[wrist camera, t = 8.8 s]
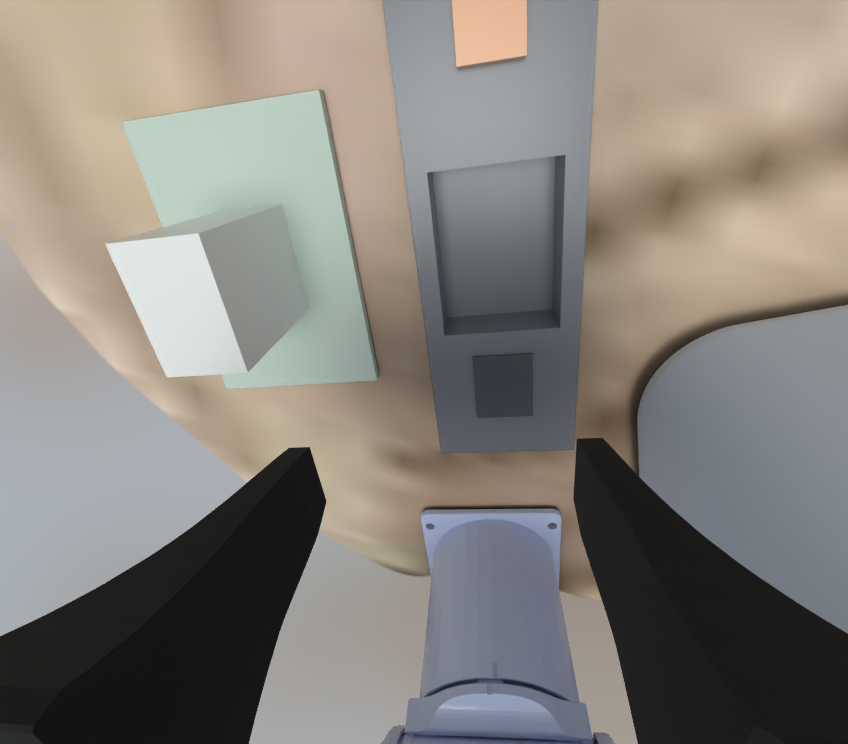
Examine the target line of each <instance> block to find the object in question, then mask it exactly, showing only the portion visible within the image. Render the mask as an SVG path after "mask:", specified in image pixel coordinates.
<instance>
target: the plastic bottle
mask: <svg viewBox="0 0 848 744" xmlns="http://www.w3.org/2000/svg"><path fill="white" fill-rule="evenodd" d="M637 428H638V453H639V477H640V478H641V479H642V480H643V481H644V482H645V483H646V484H647V485H648V486H649V487H650V488H651V489H652V490H653V491H654V492H655V493H656V494H657V495H658V496H659V497H660V498H662V499H663V500H664V501H665V502H666V503H667V504H668V505H669V506H670V507H671V508H672V509H673V510H674V511H676V512H677V513H678V514H679V515H680V516H681V517H682V518H684V519H685V520H686V521H687V522H688V523H689V524H690V525H692V526H693V527H694V528H695V529H696V530H697V531H699V532H700V533H701V534H702V535H703V536H705V537H706V538H707V539H708V540H710V541H711V542H712V543H714V544H715V545H716V546H717V547H719V548H720V549H721V550H723V551H724V552H725V553H727V554H728V555H729V556H731V557H732V558H733V559H735V560H736V561H737V562H739V563H740V564H741V565H743V566H744V567H745V568H747V569H748V570H750V571H751V572H753V573H754V574H755V575H757V576H758V577H760V578H761V579H763V580H764V581H766V582H767V583H769V584H770V585H772V586H773V587H775V588H776V589H778V590H779V591H781V592H782V593H784V594H785V595H787V596H788V597H790V598H791V599H793V600H794V601H796V602H797V603H799V604H800V605H802V606H803V607H805V608H807V609H808V610H810V611H811V612H813V613H815V614H816V615H818V616H819V617H821V618H823V619H824V620H826V621H828V622H829V623H831V624H833V625H834V626H836V627H838V628H839V629H841V630H843V631H844V632H846V633H848V305H844V306H838V307H832V308H827V309H821V310H816V311H810V312H804V313H799V314H793V315H787V316H782V317H776V318H771V319H765V320H759V321H754V322H748V323H742V324H737V325H733V326H728V327H725V328H722V329H719V330H716V331H713V332H711V333H708V334H706V335H704V336H702V337H699V338H698V339H696V340H694V341H692V342H690V343H689V344H687V345H686V346H684V347H683V348H681V349H680V350H678V351H677V352H676V353H674V354H673V355H672V356H671V357H670V358H669V359H667V360H666V361H665V362H664V363H663V364H662V365H661V366H660V368H659V369H658V370H657V371H656V372H655V374H654V375H653V376H652V378H651V379H650V381H649V382H648V384H647V386H646V388H645V390H644V393H643V395H642V398H641V401H640V405H639V409H638V415H637Z"/></svg>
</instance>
